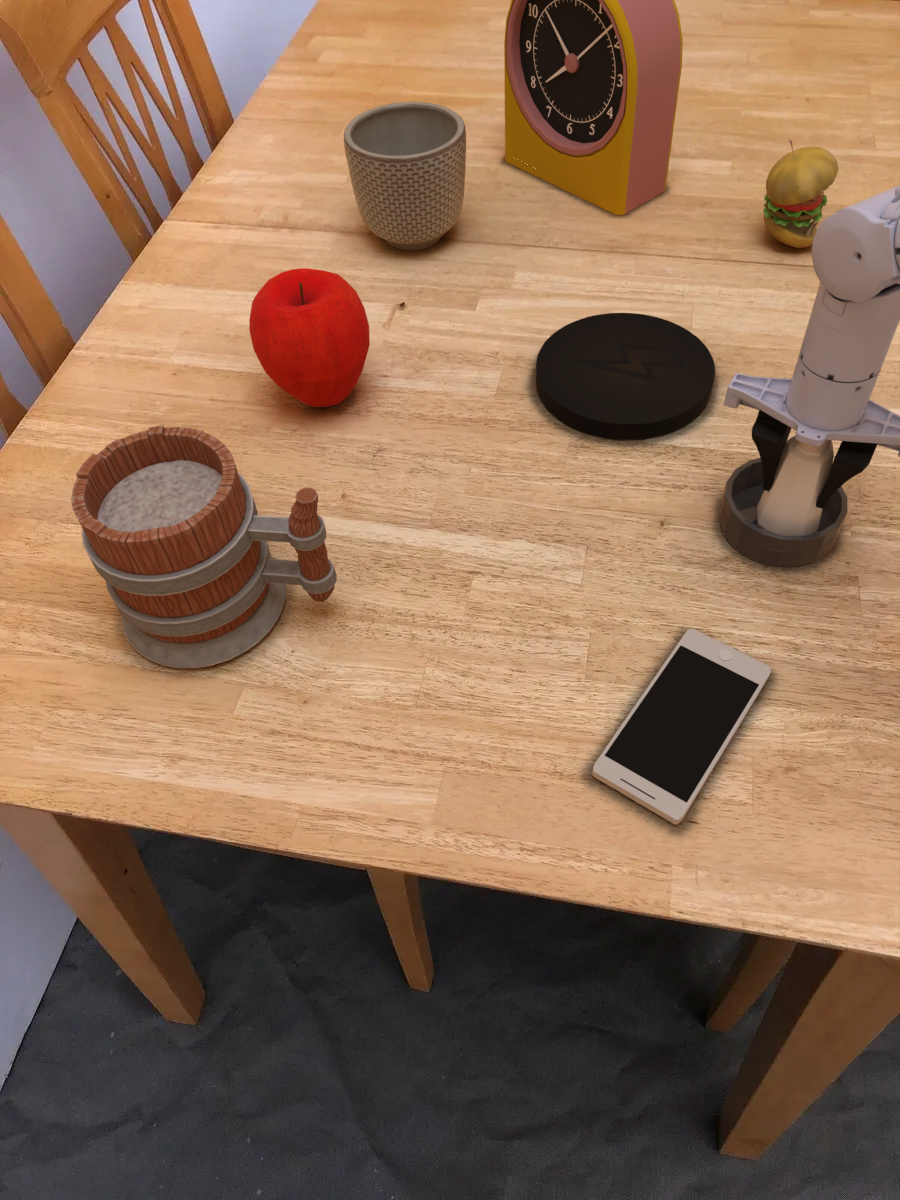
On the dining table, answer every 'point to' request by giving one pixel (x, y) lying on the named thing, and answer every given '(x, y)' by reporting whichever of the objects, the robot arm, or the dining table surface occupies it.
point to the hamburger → (798, 194)
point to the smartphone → (681, 725)
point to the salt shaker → (796, 489)
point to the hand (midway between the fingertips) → (795, 491)
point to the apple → (310, 335)
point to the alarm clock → (593, 95)
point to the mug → (192, 546)
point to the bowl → (771, 546)
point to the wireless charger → (624, 376)
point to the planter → (407, 171)
